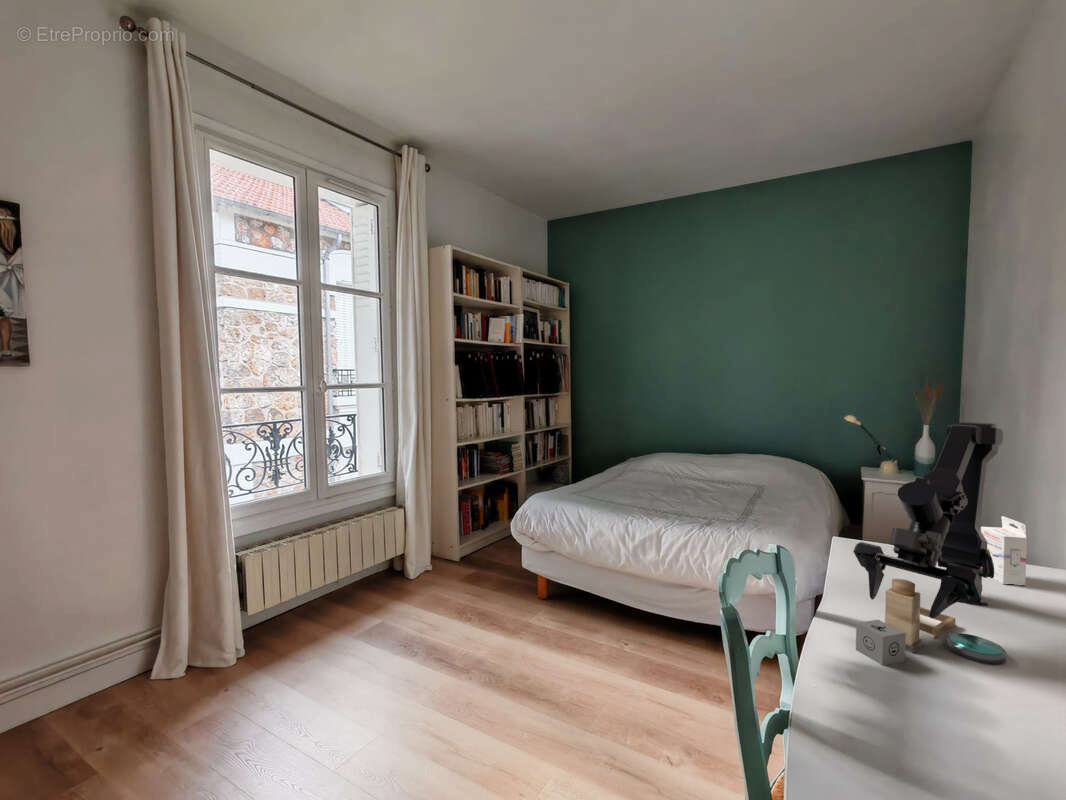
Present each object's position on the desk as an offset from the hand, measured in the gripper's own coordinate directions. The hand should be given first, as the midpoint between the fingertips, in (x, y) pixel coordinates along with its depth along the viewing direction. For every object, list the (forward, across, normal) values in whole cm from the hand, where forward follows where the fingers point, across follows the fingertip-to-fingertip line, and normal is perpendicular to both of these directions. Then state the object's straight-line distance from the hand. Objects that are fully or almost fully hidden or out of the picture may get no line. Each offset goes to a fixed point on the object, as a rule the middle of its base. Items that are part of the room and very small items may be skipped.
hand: (900, 607), depth 90 cm
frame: (-4, -1, +14) cm, 15 cm away
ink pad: (-1, +9, +11) cm, 14 cm away
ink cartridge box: (-36, +2, +45) cm, 58 cm away
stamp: (+4, 0, +6) cm, 7 cm away
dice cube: (+10, 0, 0) cm, 10 cm away
